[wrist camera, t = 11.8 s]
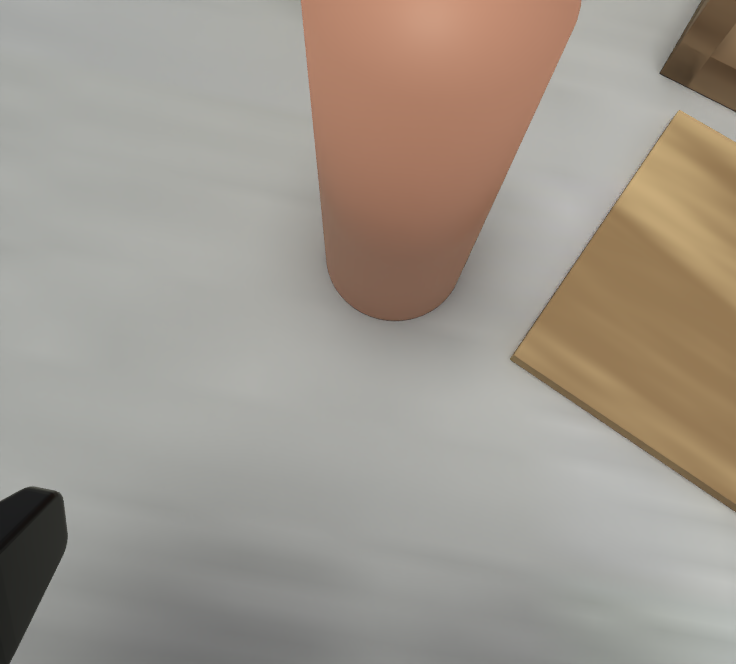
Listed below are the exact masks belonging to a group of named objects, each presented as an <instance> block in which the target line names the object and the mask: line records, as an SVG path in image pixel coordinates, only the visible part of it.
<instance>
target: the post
mask: <svg viewBox="0 0 736 664" xmlns="http://www.w3.org/2000/svg"><path fill="white" fill-rule="evenodd" d="M301 6H302V16H303V26H304V37H305V47H306V57H307V67H308V77H309V88H310V98H311V108H312V118H313V128H314V138H315V149H316V159H317V169H318V179H319V189H320V200H321V210H322V220H323V230H324V240H325V251H326V261H327V268H328V272H329V275H330V278H331V281H332V283H333V284H334V286H335V288H336V290H337V291H338V292H339V294H340V295H341V296H342V297H343V298H344V299H345V301H346V302H348V303H349V304H350V305H351V306H352V307H354V308H355V309H357V310H359V311H360V312H362V313H364V314H366V315H368V316H371V317H374V318H378V319H383V320H391V321H400V320H408V319H413V318H417V317H419V316H422V315H425V314H427V313H429V312H431V311H432V310H434V309H435V308H437V307H438V306H439V305H440V304H441V303H443V302H444V301H445V300H446V298H447V297H448V296H449V295H450V294H451V292H452V290H453V289H454V287H455V285H456V283H457V281H458V279H459V277H460V274H461V272H462V270H463V268H464V266H465V264H466V261H467V259H468V257H469V255H470V253H471V250H472V248H473V246H474V244H475V242H476V240H477V237H478V235H479V233H480V231H481V229H482V227H483V224H484V222H485V220H486V218H487V216H488V213H489V211H490V209H491V207H492V205H493V203H494V200H495V198H496V196H497V194H498V192H499V190H500V187H501V185H502V183H503V181H504V179H505V177H506V174H507V172H508V170H509V168H510V166H511V163H512V161H513V159H514V157H515V155H516V153H517V150H518V148H519V146H520V144H521V142H522V140H523V137H524V135H525V133H526V131H527V129H528V126H529V124H530V122H531V120H532V118H533V116H534V113H535V111H536V109H537V107H538V105H539V103H540V100H541V98H542V96H543V94H544V92H545V90H546V87H547V85H548V83H549V81H550V79H551V76H552V74H553V72H554V70H555V68H556V66H557V63H558V61H559V59H560V57H561V55H562V53H563V50H564V48H565V46H566V44H567V42H568V39H569V37H570V35H571V33H572V31H573V29H574V26H575V24H576V22H577V18H578V14H579V11H580V7H581V0H301Z"/></svg>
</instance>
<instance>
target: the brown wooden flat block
mask: <svg viewBox="0 0 736 664" xmlns="http://www.w3.org/2000/svg"><path fill="white" fill-rule="evenodd" d="M510 360H511V361H513V362H514V363H516V364H517V365H519V366H520V367H522V368H523V369H525V370H526V371H528V372H529V373H531V374H532V375H534V376H535V377H537V378H538V379H539V380H541V381H542V382H544V383H545V384H547V385H548V386H550V387H551V388H553V389H554V390H556V391H557V392H559V393H560V394H562V395H563V396H565V397H566V398H568V399H569V400H571V401H572V402H574V403H575V404H576V405H578V406H579V407H581V408H582V409H584V410H585V411H587V412H588V413H590V414H591V415H593V416H594V417H596V418H597V419H599V420H600V421H602V422H603V423H605V424H606V425H608V426H609V427H611V428H612V429H614V430H615V431H616V432H618V433H619V434H621V435H622V436H624V437H625V438H627V439H628V440H630V441H631V442H633V443H634V444H636V445H637V446H639V447H640V448H642V449H643V450H645V451H646V452H648V453H649V454H651V455H652V456H653V457H655V458H656V459H658V460H659V461H661V462H662V463H664V464H665V465H667V466H668V467H670V468H671V469H673V470H674V471H676V472H677V473H679V474H680V475H682V476H683V477H685V478H686V479H688V480H689V481H691V482H692V483H693V484H695V485H696V486H698V487H699V488H701V489H702V490H704V491H705V492H707V493H708V494H710V495H711V496H713V497H714V498H716V499H717V500H719V501H720V502H722V503H723V504H725V505H726V506H728V507H729V508H730V509H732V510H733V511H735V512H736V142H734V141H732V140H731V139H729V138H727V137H725V136H724V135H722V134H720V133H719V132H717V131H715V130H713V129H712V128H710V127H708V126H706V125H705V124H703V123H701V122H699V121H698V120H696V119H694V118H693V117H691V116H689V115H687V114H686V113H684V112H682V111H680V110H679V111H678V112H677V114H676V115H675V116H674V117H673V119H672V120H671V122H670V123H669V125H668V126H667V128H666V129H665V131H664V132H663V133H662V135H661V136H660V138H659V139H658V141H657V142H656V144H655V145H654V147H653V148H652V150H651V151H650V153H649V154H648V156H647V157H646V159H645V160H644V162H643V163H642V165H641V166H640V168H639V169H638V170H637V172H636V173H635V175H634V176H633V178H632V179H631V181H630V182H629V184H628V185H627V187H626V188H625V190H624V191H623V193H622V194H621V196H620V197H619V199H618V200H617V202H616V203H615V204H614V206H613V207H612V209H611V210H610V212H609V213H608V215H607V216H606V218H605V219H604V221H603V222H602V224H601V225H600V227H599V228H598V230H597V231H596V233H595V234H594V236H593V237H592V239H591V240H590V241H589V243H588V244H587V246H586V247H585V249H584V250H583V252H582V253H581V255H580V256H579V258H578V259H577V261H576V262H575V264H574V265H573V267H572V268H571V270H570V271H569V273H568V274H567V275H566V277H565V278H564V280H563V281H562V283H561V284H560V286H559V287H558V289H557V290H556V292H555V293H554V295H553V296H552V298H551V299H550V301H549V302H548V304H547V305H546V307H545V308H544V310H543V311H542V312H541V314H540V315H539V317H538V318H537V320H536V321H535V323H534V324H533V326H532V327H531V329H530V330H529V332H528V333H527V335H526V336H525V338H524V339H523V341H522V342H521V344H520V345H519V346H518V348H517V349H516V351H515V352H514V354H513V355H512V357H511V358H510Z"/></svg>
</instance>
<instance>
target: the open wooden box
mask: <svg viewBox="0 0 736 664" xmlns="http://www.w3.org/2000/svg"><path fill="white" fill-rule="evenodd" d="M660 73H661V74H663V75H664V76H666V77H668V78H670V79H672V80H674V81H676V82H678V83H680V84H682V85H684V86H686V87H688V88H690V89H692V90H694V91H696V92H698V93H700V94H702V95H704V96H706V97H708V98H710V99H712V100H714V101H716V102H718V103H720V104H722V105H724V106H726V107H728V108H730V109H732V110H734V111H736V0H702V1H701V3H700V4H699V6H698V8H697V10H696V11H695V13H694V15H693V16H692V18H691V20H690V22H689V23H688V25H687V27H686V29H685V30H684V32H683V34H682V35H681V37H680V39H679V41H678V42H677V44H676V46H675V48H674V49H673V51H672V53H671V54H670V56H669V58H668V60H667V61H666V63H665V65H664V66H663V68H662V70H661V72H660Z"/></svg>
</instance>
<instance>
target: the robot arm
mask: <svg viewBox="0 0 736 664" xmlns="http://www.w3.org/2000/svg"><path fill="white" fill-rule="evenodd" d="M67 539H68V533H67V525H66V516H65V508H64V501H63V497H62V495H61V494H60V493H59V492H57V491H54V490H49V489H44V488H39V487H27V488H24V489H22V490H20V491H18V492H16V493H14V494H12V495H11V496H9V497H7V498H5V499H3V500H2V501H0V664H10V662H11V660H12V658H13V656H14V654H15V652H16V650H17V648H18V646H19V644H20V642H21V640H22V638H23V636H24V634H25V632H26V630H27V628H28V626H29V624H30V622H31V620H32V618H33V616H34V613H35V611H36V609H37V607H38V605H39V603H40V601H41V599H42V597H43V595H44V593H45V591H46V589H47V587H48V585H49V583H50V581H51V579H52V577H53V575H54V573H55V571H56V569H57V567H58V565H59V563H60V560H61V558H62V556H63V554H64V552H65V549H66V545H67Z"/></svg>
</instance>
